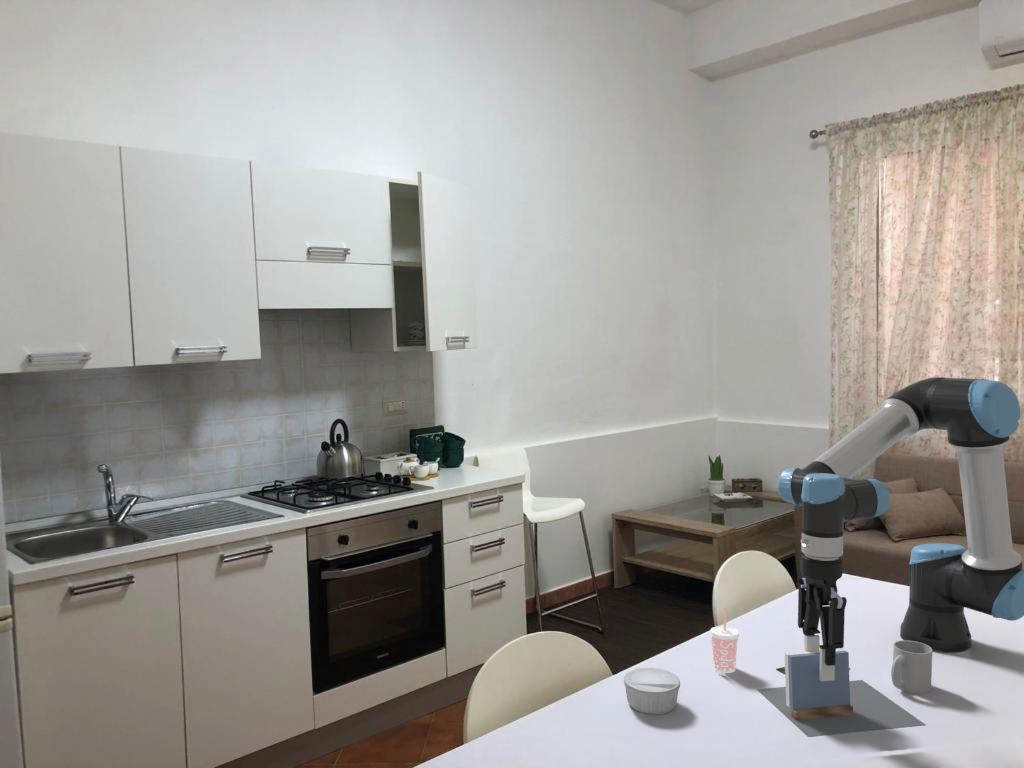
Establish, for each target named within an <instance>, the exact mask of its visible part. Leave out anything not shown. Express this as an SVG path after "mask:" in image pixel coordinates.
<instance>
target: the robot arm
mask: <svg viewBox="0 0 1024 768" xmlns="http://www.w3.org/2000/svg"><path fill="white" fill-rule="evenodd" d="M1020 419H1021V406H1020V402H1019V399H1018V396H1017V395H1016V393H1015V391H1014V390H1013V389H1012V388H1011V387H1010V386H1009V385H1007V384H1006V383H1004V382H1003V381H996V380H989V379H986V378H959V377H957V378H955V377H954V378H953V377H952V378H951V377H944V376H942V377H940V376H934V377H929V378H924V379H921V380H918V381H916V382H913V383H912V384H911V383H910V384H908V385H907V386H904V387H903V388H901V389H899V390H898V391H896V392H895V393H892V395H890V396H889V397H887V398H886V399H885V400H884V401H882V402H881V403H880V405H879V407H878V411H877V412H875V413H874V414H873V415H871V416H870V417H869V418H867V419H866V420H865V421H863V422H862V423H861V424H860V425H858V426H857V427H855V428H854V429H853V430H852V431H851V432H849V433H848V434H847V435H845V436H844V437H842V438H841V439H840V440H838V442H836V443H835V444H834V445H832V446H831V447H830V448H828V449H827V450H825V452H823V453H822V454H820V456H818V457H816V458H815V459H814V460H813V461H811V462H810V463H809V464H807V465H806V466H805V467H804V468H799V467H795V468H794V467H791V468H786V469H785V470H783V471H782V472H781V474H780V475H779V477H778V480H777V491H778V494H779V496H780V498H781V499H782V500H783V501H784V502H787V503H789V504H793V505H795V506H799V507H801V539H800V543H801V546H800V547H801V549H800V551H801V553H802V554H801V555H800V573H801V575H802V576H804V577H801V578H800V577H798V578H797V579H796V583H797V584H796V585H797V588H798V589H797V590H798V593H797V594H798V595H797V597H798V598H797V599H798V601H797V602H798V603H797V604H798V607H797V626H798V628H799V629H802V634H803V635H804V652H805V651H818V650H820V668H819V680H820V681H832V680H835V656H836V649H843V648H844V646H845V612H846V606H847V604H848V603H847V602H848V601H847V598H846V597H845V596H842V597H841V596H840V595H839V594H838V586H837V581H838V580H839V579H841V578H842V577H843V566H844V562H843V561H844V560H843V557H842V556H844V526H845V525H844V524H845V523H847V522H851V521H859V520H865V519H868V520H870V519H873V518H876V517H880V516H882V515H884V514H885V513H886V512H887V511H888V510H889V507H890V505H891V495H890V492H889V489H888V488H887V486H886V485H885V484H884V483H883V482H882V481H880V480H878V479H875V478H869V479H868V478H862V479H853V477H855V476H856V475H857V474H858V473H859V472H860V471H862V470H863V469H864V468H866V467H867V466H868V465H870V464H871V463H872V462H873V461H875V460H876V459H877V458H878V457H880V456H881V455H882V454H883V453H884V452H886V451H887V450H888V449H890V448H891V447H892V446H893V445H895V443H897V442H898V441H900V440H901V439H902V438H903V437H907V438H908V437H911V436H913V435H915V434H916V433H918V432H919V431H923V430H931V429H932V430H938V431H939V430H940V431H946V433H947V434H946V435H947V441H948V444H949V445H950V446H952V448H955V450H956V451H957V452H956V453H957V461H958V470H959V478H960V487H961V489H960V490H961V495H962V496H961V497H962V498H961V499H962V507H963V514H964V521H965V522H964V523H965V531H966V533H965V534H966V541H967V549H966V547H965V546H964V545H961V544H954V543H939V542H936V543H924V544H919V545H915V546H914V547H913V548H912V549H911V551H910V552H911V553H910V561H909V592H908V593H909V599H908V600H909V601H908V607H907V609H906V613H905V615H904V617H903V621H902V622H901V624H900V626H899V627H900V631H899V634H900V635H899V636H900V638H901V639H902V640H908V641H916V642H920V643H923V644H926V645H928V646H930V647H931V648H932V651H935V652H940V653H941V652H944V653H958V652H964V651H967V650H969V649H971V647H972V634H971V631H970V628H969V625H968V622H967V619H966V615H965V608H966V609H968V610H973V611H975V612H979V613H982V614H985V615H988V616H991V617H993V618H996V619H1002V620H1006V621H1010V622H1012V621H1017V620H1020V619H1021V618H1023V617H1024V566H1023V561H1022V556H1021V554H1020V553H1019V552H1017V551H1016V550H1014V546H1013V540H1012V529H1011V521H1010V510H1009V508H1010V507H1009V502H1008V501H1009V500H1008V491H1007V490H1008V489H1007V481H1006V480H1007V479H1006V470H1005V461H1004V450H1003V447H1005V446H1006V444H1008V443H1009V442H1010V440H1011V438H1010V437H1011V436H1012V435H1013V434H1014V433H1016V430H1017V429H1018V428H1019V425H1020V423H1019V421H1020ZM819 623H820V629H821V631H820V630H819ZM818 634H821V637H820V635H818ZM820 638H821V639H822V644H820V642H821V641H820V640H821V639H820Z"/></svg>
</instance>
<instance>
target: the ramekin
mask: <svg viewBox="0 0 1024 768" xmlns="http://www.w3.org/2000/svg"><path fill="white" fill-rule="evenodd" d="M623 684H624V687H625V693H626V694H625V695H626V699H627V702H628V705H629V706H630V707H631V708H633V709H634V710H635V711H637V712H639V713H642V714H646V715H647V714H648V715H662V714H667V713H669V712H671V711H672V710H673V709H674V708H675V707H676V706H677V702H678V696H679V690H680V688H681V680H680V678H679V676H677V675H676V674H675V673H673V672H671V671H669V670H667V669H663V668H658V667H657V668H656V667H639V668H634V669H631V670H629V671H628V672H626V673H625V674H624V678H623Z"/></svg>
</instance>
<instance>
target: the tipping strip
mask: <svg viewBox="0 0 1024 768" xmlns="http://www.w3.org/2000/svg"><path fill="white" fill-rule="evenodd" d="M844 715H853V706H851V705H850V704H849V705H839V706H828V707H817V708H807V709H796V710H792V712H791V717H793V718H794V719H795V720H802V719H813V718H823V717H833V716H844Z"/></svg>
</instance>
